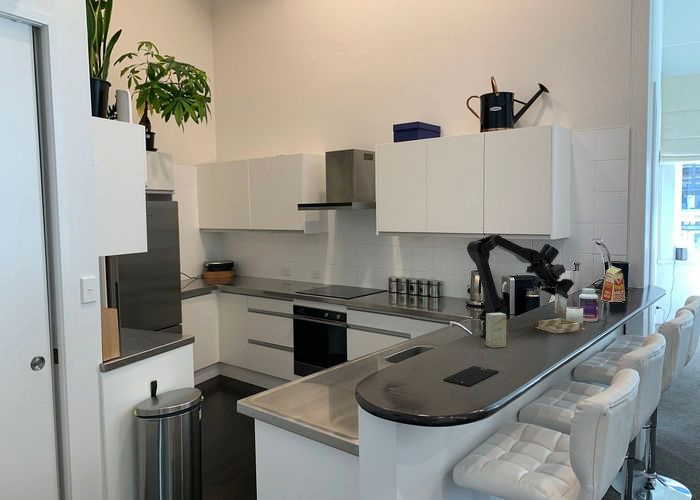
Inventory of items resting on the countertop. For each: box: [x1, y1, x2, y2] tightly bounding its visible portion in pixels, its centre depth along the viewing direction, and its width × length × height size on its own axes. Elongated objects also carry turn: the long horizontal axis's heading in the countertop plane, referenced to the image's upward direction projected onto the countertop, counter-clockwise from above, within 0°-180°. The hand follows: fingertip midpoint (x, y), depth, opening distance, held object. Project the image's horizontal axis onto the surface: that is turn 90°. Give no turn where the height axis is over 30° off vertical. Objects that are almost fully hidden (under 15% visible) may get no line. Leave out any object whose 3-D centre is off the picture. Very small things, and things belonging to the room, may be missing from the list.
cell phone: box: [442, 365, 500, 388], centre depth 155 cm, size 9×18×1 cm, turn 137°
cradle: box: [534, 318, 585, 334], centre depth 219 cm, size 16×11×3 cm
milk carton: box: [600, 265, 626, 303], centre depth 285 cm, size 9×9×20 cm
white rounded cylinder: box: [565, 306, 584, 326], centre depth 229 cm, size 7×7×7 cm
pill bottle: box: [578, 287, 599, 323], centre depth 235 cm, size 8×8×14 cm
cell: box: [554, 286, 568, 315], centre depth 217 cm, size 5×5×14 cm
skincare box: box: [485, 313, 507, 349], centre depth 191 cm, size 6×4×12 cm
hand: (563, 297), depth 218 cm, fingers closed on cell, 5 cm apart
